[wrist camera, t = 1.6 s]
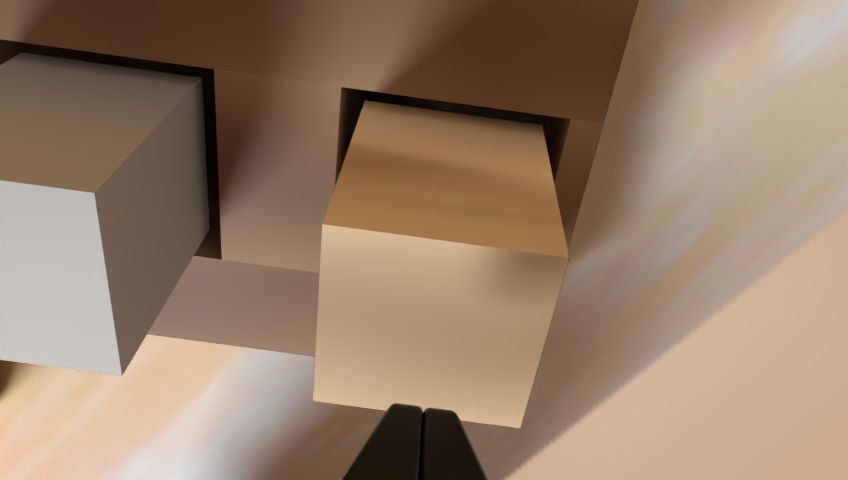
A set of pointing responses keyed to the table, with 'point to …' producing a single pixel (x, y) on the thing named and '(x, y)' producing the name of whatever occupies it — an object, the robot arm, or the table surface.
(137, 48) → the brown slotted block
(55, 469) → the table surface
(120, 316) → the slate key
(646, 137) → the table surface
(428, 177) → the maple key
